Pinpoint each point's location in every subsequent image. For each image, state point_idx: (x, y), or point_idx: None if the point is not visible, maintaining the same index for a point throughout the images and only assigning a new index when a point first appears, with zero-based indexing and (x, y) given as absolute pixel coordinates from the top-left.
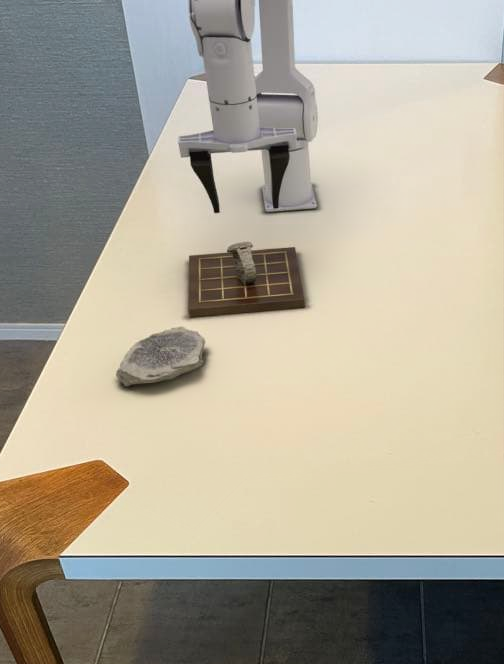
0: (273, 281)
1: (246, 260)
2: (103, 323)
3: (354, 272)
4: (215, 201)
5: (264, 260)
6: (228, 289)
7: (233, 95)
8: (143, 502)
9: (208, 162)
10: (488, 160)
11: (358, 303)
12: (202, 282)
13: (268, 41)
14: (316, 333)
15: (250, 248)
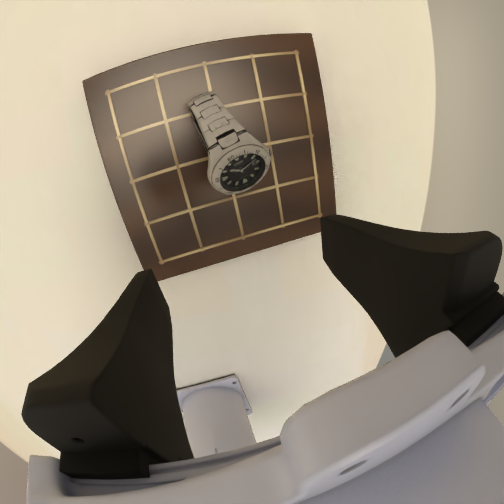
0: (157, 139)
1: (212, 109)
2: (410, 51)
3: (35, 230)
4: (347, 223)
5: (194, 222)
6: (248, 98)
7: None
8: None
9: (460, 286)
10: (54, 451)
11: (7, 125)
12: (304, 127)
13: None
14: (65, 12)
15: (206, 141)
